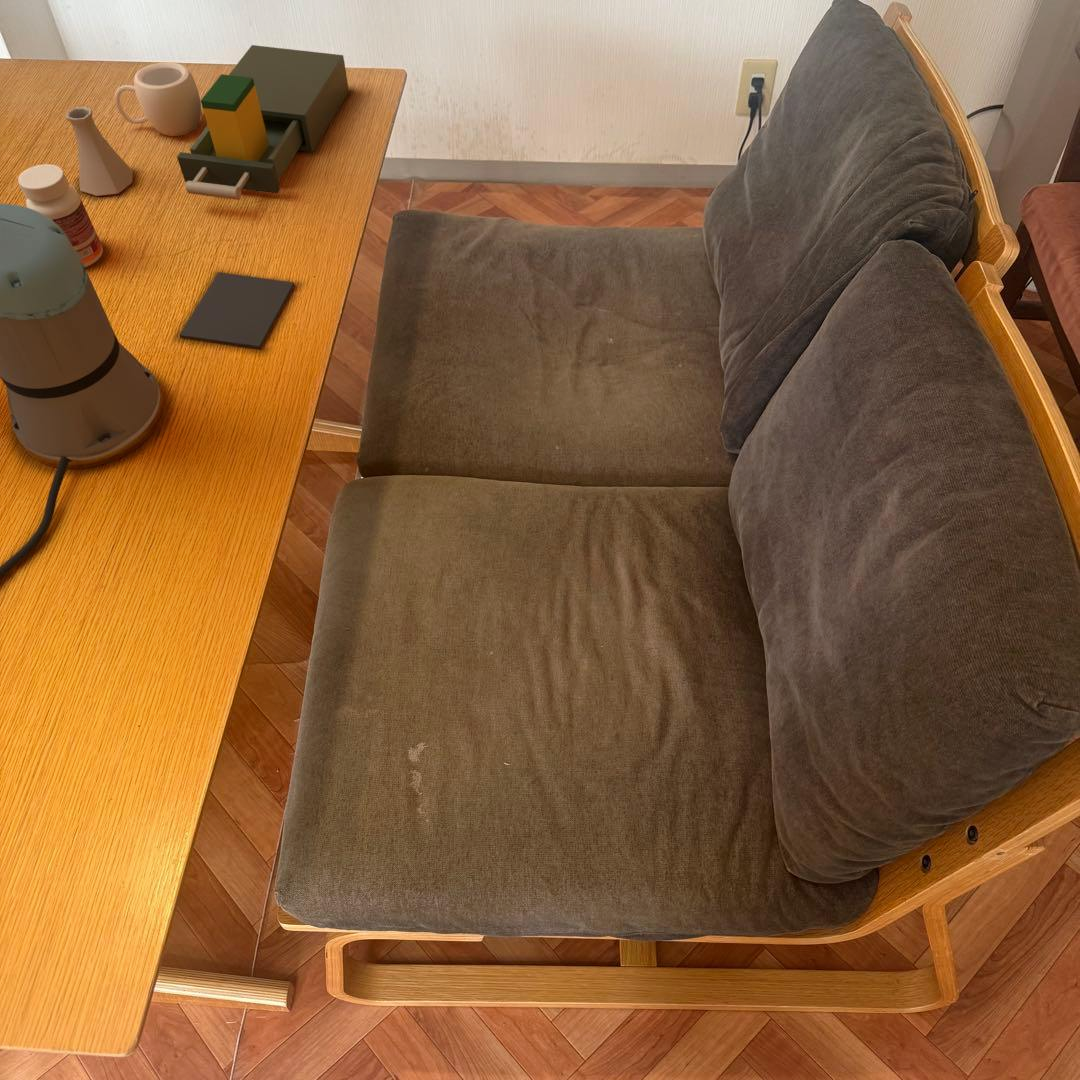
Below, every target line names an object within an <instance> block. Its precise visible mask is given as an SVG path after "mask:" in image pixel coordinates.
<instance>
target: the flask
mask: <svg viewBox="0 0 1080 1080" xmlns="http://www.w3.org/2000/svg"><path fill="white" fill-rule="evenodd" d="M65 115H66V116H65V118H66V121H68V122H70V124H71V126H72V129H73V131H74V135H75V139H76V144H77V151H78V152H77V155H78V175H79V176H78V177H79V178H78V179H79V180H78V181H79V191H80V192H83V193H86V194H90V195H93V196H96V197H98V196H108V195H116V194H119V193H121V192H123V191H124V190H125V189H126V188H127V187H129V186H130V185H131V184H132V183H133V174H134V171H133V170H132V168H131V167H130V166H129V165H128V163H126V162H125V161H124V159H123V158H122V157H121V156H120V155H119V154H118V153H117V152H116V150H115V149H114V148H113V147H112V146H111V145H110V143H109V142H108V140H106V139H105V138H104V136H103V134H102V133H101V131H100V130H99V128H98V127H97V125H96V123H95V120H94V118H93V109H92V108H90V107H86V106H77V107H72V108H71V109H69V110H68V111H66V114H65Z"/></svg>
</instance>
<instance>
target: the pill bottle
mask: <svg viewBox="0 0 1080 1080" xmlns="http://www.w3.org/2000/svg"><path fill="white" fill-rule="evenodd" d="M17 182H18V185H19V187H20V189H21V191H22V193H23V195H24V197H25V198H26V200H25V207H26V208H29V209H32V210H35V211H37V212H39V213H41V214H43V215H45V216H47V217H48V218H50V219H51V220H53V221H54V222H55V223H56V224H57V225H58V226H59V227H60V228H61V229H62V230H63V231H64V233H65V234H66V236H67V237H68V239H69V241H70V243H71V245H72V246H73V248H74V249H75V250H76V251H77V252H78V254H79V255H80V257H81V260H82V262H83V263H84V265H85V268H87V267H89V266H91V265H93V264H95V263H96V262H97V261H98V260H99V259H101V257H102V256H103V251H104V248H103V244H102V242H101V240H100V238H99V235H98V234H97V231H96V230H95V227H94V224H93V222H92V220H91V219H90V216H89V213H88V211H87V210H86V209H87V208H86V207H85V205H84V203H83V200H82V197H81V196H80V194H79V192H78V191H77V190H76V189H75V188H74V187H73V186H71V185H70V182H69V181H68V178H67V176H66V174H65V172H64V170H63V169H62V168H61V167H60V166H58V165H55V164H52V163H51V164H49V163H47V164H46V163H45V164H37V165H34V166H31V167H29V168H26V169H24V170H23V171H22V172H21V173H20V174H19V176H18V178H17Z"/></svg>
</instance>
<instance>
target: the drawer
mask: <svg viewBox="0 0 1080 1080" xmlns="http://www.w3.org/2000/svg"><path fill="white" fill-rule="evenodd" d="M262 117H263V122H264V126H265V130H266V134H267V138H268V142H269V146H268V148H267V149H266V151H265V152H264V154H263V156H262V157H261V159H260V160H259V162H256V161H248V160H239V159H231V158H223V157H217V155H216V151H215V148H214V144H213V141H212V138H211V134H210V131H209V127H208V124H207V125H206V126H205V128H204V129H203V130H202V132H201V133H200V134H199V135H198V137H197V138H196V140H195V141H194V143H193V144H192V145H191V146H190V148H189V151H190V153H189V152H181V151H180V152H179V153H178V154H177V156H176V158H177V159H176V160H177V162H178V165H179V169H180V171H181V175H182V177H183V180H184V182H185V190H186V191H185V192H186V193H187V194H189V195H197V196H206V197H214V198H222V199H229V200H236V201H238V200H240V199H242V190H244V191H252V192H258V193H259V192H261V193H268V194H276V195H277V194H279V193H280V190H281V185H280V179H281V178H282V177H283V175H284V173H285V172H286V170H287V168H288V167H289V165H290V163H291V162H292V160H293V158H294V157H295V156H296V154H297V153H298V151H299V150H298V149H299V147H300V146H301V144H302V143H303V141H304V134H303V129H302V124H301V120H299V119H291V118H282V117H274V116H265V115H262Z"/></svg>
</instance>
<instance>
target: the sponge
mask: <svg viewBox="0 0 1080 1080" xmlns="http://www.w3.org/2000/svg"><path fill="white" fill-rule="evenodd" d="M200 103H201V108H202V110H203V113H204V117H205V121H206V123H207V125H208V127H209V131H210V134H211V138H212V141H213V144H214V148H215V151H216V155H217V157H223V158H231V159H239V160H248V161H256V162H259V160H260V159H261V157H262V156H263V154H264V152H265V151H266V149H267V148H268V146H269V142H268V138H267V134H266V130H265V126H264V122H263V117H262V113H261V109H260V105H259V101H258V97H257V93H256V88H255V84H254V80H253V78H249V77H240V76H232V75H229V74H222V73H221V74H220V75H219V77H218V78H217V79H216V80H215V82H214V83H213V84H212V85H211V86H210V88H209V89H208V90H207V92H206V93H205V94H204V96H202V98H201V99H200Z"/></svg>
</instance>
